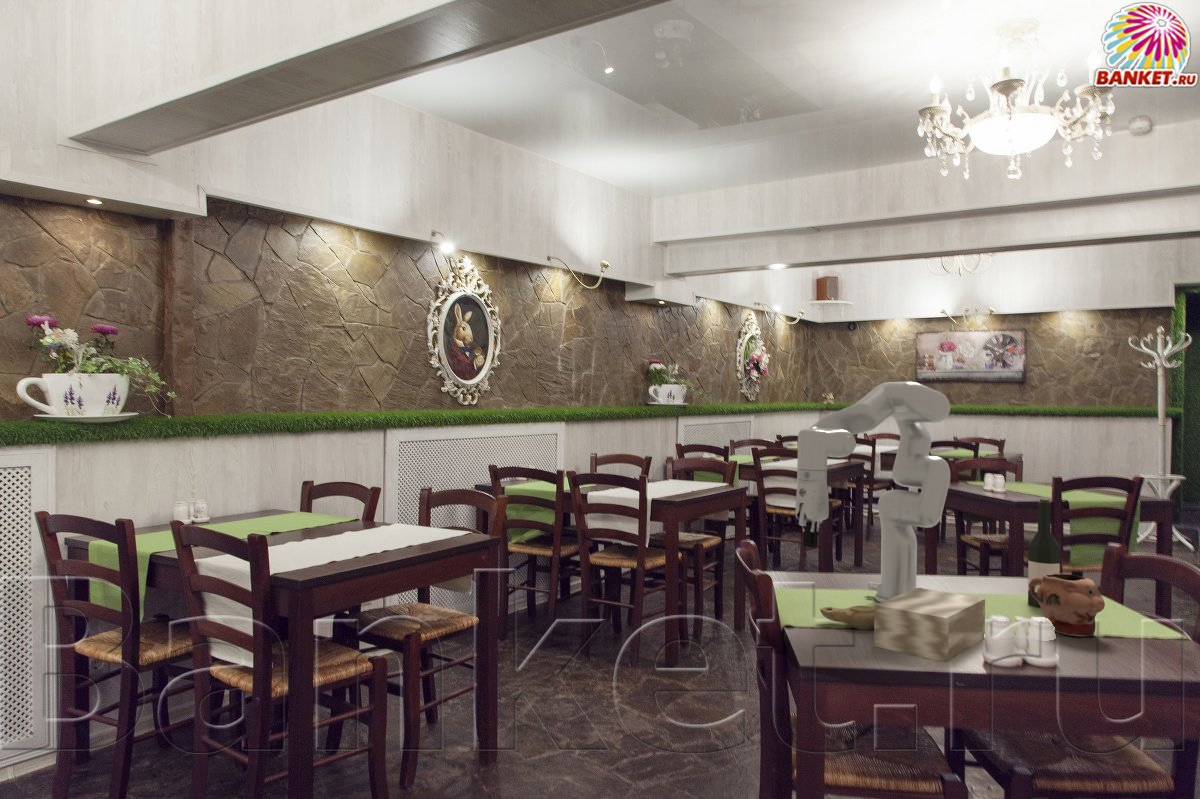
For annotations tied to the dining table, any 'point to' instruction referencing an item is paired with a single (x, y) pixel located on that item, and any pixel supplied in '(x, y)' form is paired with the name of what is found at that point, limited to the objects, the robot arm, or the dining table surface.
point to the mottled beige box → (929, 623)
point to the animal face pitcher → (1068, 602)
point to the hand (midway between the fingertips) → (810, 546)
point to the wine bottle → (1042, 550)
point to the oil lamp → (852, 616)
